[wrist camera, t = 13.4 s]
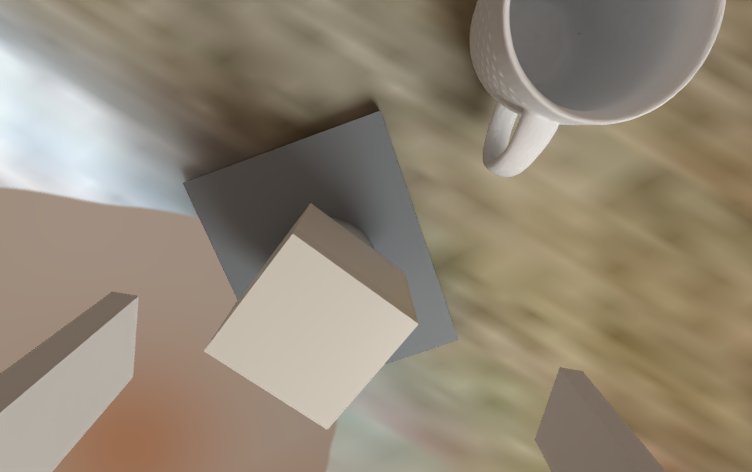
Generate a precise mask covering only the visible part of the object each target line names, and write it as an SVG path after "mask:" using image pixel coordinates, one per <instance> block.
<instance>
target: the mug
mask: <svg viewBox="0 0 752 472" xmlns="http://www.w3.org/2000/svg"><path fill="white" fill-rule="evenodd" d="M725 4H726V0H478V1H477V3H476V7H475V11H474V13H473V16H472V22H471V27H470V37H469V39H470V55H471V60H472V63H473V68H474V70H475V71H476V74H477V76H478V78H479V81H480V82H481V83H482V85H483V87H484V88H485V89H486V91H487V92H488V93H489V94H490V95H491V97H492V98H494V99H495V100H496V101H497V103H496V105H495V109H494V112H493V115H492V118H491V120H490V123H489V127H488V131H487V135H486V138H485V143H484V148H483V163H484V165H485V167H486V168H487V169H488V170H489V171H491V172H492V173H494V174H496V175H499V176H503V177H511V176H515V175H517V174H519V173H521V172H522V171H524V170H525V169H526V168H527V167H528V166H529V165H530V164H531V163H532V162H533V161H534V160H535V159H536V158H537V157H538V155H539V154H540V153H541V152H542V151H543V149H544V148H545V147H546V146H547V144H548V143H549V141H550V140H551V138H552V137H553V135H554V133H555V132H556V130H557V128H558V125H559V124H560V125H563V124H564V125H567V124H568V125H608V124H614V123H620V122H625V121H628V120H632V119H635V118H637V117H640V116H642V115H645V114H647V113H649V112H651V111H653V110H655V109H656V108H658V107H660V106H661V105H663V104H664V103H666V102H667V101H668V100H670V99H671V98H672V97H674V96H675V95H676V94H677V93H678V92H679V91H680V90H681V89H682V88H683V87H684V86H685V85H686V84H687V83H688V82H689V81H690V80H691V79H692V78H693V76H694V75H695V74H696V72H697V71H698V70H699V68H700V67H701V66H702V64H703V63H704V61H705V59H706V58H707V56H708V54H709V53H710V51H711V48H712V46H713V44H714V42H715V39H716V37H717V34H718V32H719V29H720V25H721V22H722V19H723V14H724V10H725ZM517 115H520V116H521V118H520V120H519V123H518V125H517V128H516V130H515V132H514V135H513V137H512V139H511V141H510V143H509V145H508V142H509V138H510V134H511V131H512V128H513V125H514V122H515V120H516V118H517Z"/></svg>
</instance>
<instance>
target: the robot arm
mask: <svg viewBox="0 0 752 472" xmlns="http://www.w3.org/2000/svg"><path fill="white" fill-rule="evenodd" d="M138 299H139V296H135V295H129V294H123V293H117V292H111V293H110V294H108V295H107V296H106V297H104V298H103V299H101V300H100V301H99V302H97V303H96V304H95V305H93V306H92V307H91V308H89V309H88V310H86V311H85V312H84V313H82V314H81V315H80V316H78V317H77V318H76V319H74V320H73V321H72V322H70V323H69V324H67V325H66V326H65V327H63V328H62V329H61V330H60V331H58V332H57V333H55V334H54V335H53V336H51V337H50V338H49V339H47V340H46V341H44V342H43V343H42V344H40V345H39V346H37V348H35V349H33V350H32V351H31V352H29V353H28V354H27V355H25V356H24V357H23V358H21V359H20V360H18V361H17V362H16V363H14V364H13V365H12V366H10V367H9V368H8V369H6V370H5V371H3V372H2V373H0V472H52V471H53V470H54V469H55V468H56V467H57V465H58V464H59V463H60V462H61V461H62V460H63V458H64V457H65V456H66V455H67V454H68V453H69V451H70V450H71V449H72V448H73V447H74V445H75V444H76V443H77V442H78V441H79V440H80V438H81V437H82V436H83V435H84V434H85V433H86V431H87V430H88V429H89V428H90V427H91V426H92V424H93V423H94V422H95V421H96V420H97V419H98V417H99V416H100V415H101V414H102V413H103V412H104V410H105V409H106V408H107V407H108V406H109V404H110V403H111V402H112V401H113V400H114V399H115V397H116V396H117V395H118V394H119V393H120V392H121V390H122V389H123V388H124V387H125V386H126V385H127V383H128V382H129V381H130V380H131V379H132V377H133V369H134V356H135V355H134V354H135V341H136V326H137V313H138ZM535 441H536V442H537V444H538V446H539V448H540V450H541V452H542V454H543V456H544V458H545V460H546V462H547V464H548V466H549V468H550V470H551V471H552V472H666V471H665V470H664V469H663V467H662V466H661V465H660V464H659V463H658V461H657V460H656V459H655V458H654V457H653V455H652V454H651V453H650V452H649V451H648V449H647V448H646V447H645V446H644V445H643V443H642V442H641V441H640V440H639V438H638V437H637V436H636V435H635V434H634V432H633V431H632V430H631V429H630V428H629V426H628V425H627V424H626V423H625V422H624V420H623V419H622V418H621V417H620V416H619V414H618V413H617V412H616V411H615V410H614V408H613V407H612V406H611V405H610V404H609V402H608V401H607V400H606V399H605V398H604V396H603V395H602V394H601V393H600V392H599V390H598V389H597V388H596V387H595V386H594V384H593V383H592V382H591V381H590V380H589V378H588V377H587V376H586V375H585V374H584V372H583V371H578V370H572V369H566V368H561V367H560V368H559V371H558V374H557V377H556V380H555V383H554V386H553V388H552V391H551V394H550V397H549V400H548V403H547V406H546V409H545V412H544V415H543V417H542V420H541V423H540V426H539V429H538V432H537V435H536V438H535Z"/></svg>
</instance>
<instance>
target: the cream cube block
mask: <svg viewBox="0 0 752 472" xmlns="http://www.w3.org/2000/svg"><path fill="white" fill-rule="evenodd" d="M418 324H419V323H418V319H417V316H416V312H415V308H414V304H413V300H412V297H411V293H410V289H409V285H408V281H407V278H406V274H405V272H403V271H402V270H401V269H399V268H398V267H397V266H395V265H394V264H393V263H391V262H390V261H389V260H387V259H386V258H384V257H383V256H382V255H380V254H379V253H378V252H376V251H375V250H374V249H372V248H371V247H370V246H368V245H367V244H366V243H364V242H363V241H362V240H360V239H359V238H357V237H356V236H355V235H353V234H352V233H351V232H349V231H348V230H347V229H345V228H344V227H343V226H341V225H340V224H339V223H337V222H336V221H334V220H333V219H332V218H330V217H329V216H328V215H326V214H325V213H324V212H322V211H321V210H320V209H318V208H317V207H316V206H314V205H313V204H311V203H310V205H309V206H308V207H307V209H306V210H305V211H304V213H303V214H302V215H301V217H300V218H299V219H298V221H297V222H296V223H295V224H294V226H293V227H292V228H291V230H290V231H289V232H288V234H287V235H286V236H285V238H284V239H283V240H282V242H281V243H280V244H279V246H278V247H277V248H276V250H275V251H274V252H273V254H272V255H271V256H270V258H269V259H268V260H267V262H266V263H265V264H264V266H263V267H262V268H261V270H260V271H259V272H258V274H257V275H256V276H255V278H254V279H253V280H252V282H251V283H250V284H249V285H248V287H247V288H246V289H245V291H244V292H243V293H242V295H241V296H240V298H239V299H238V301H237V302H236V304H235V305H234V307H233V308H232V310H231V311H230V313H229V314H228V316H227V317H226V319H225V320H224V322H223V323H222V325H221V326H220V328H219V329H218V331H217V332H216V334H215V335H214V337H213V338H212V340H211V341H210V343H209V344H208V346H207V347H206V349H205V350H204V352H206V353H208V354H209V355H211V356H212V357H214V358H215V359H217V360H219V361H220V362H222V363H223V364H225V365H226V366H228V367H230V368H231V369H233V370H234V371H236V372H237V373H239V374H241V375H242V376H244V377H245V378H247V379H248V380H250V381H252V382H253V383H255V384H256V385H258V386H259V387H261V388H263V389H264V390H266V391H267V392H269V393H270V394H272V395H274V396H275V397H277V398H278V399H280V400H281V401H283V402H285V403H286V404H288V405H290V406H291V407H292V408H294V409H296V410H297V411H299V412H300V413H302V414H303V415H305V416H307V417H308V418H310V419H311V420H313V421H315V422H316V423H318V424H319V425H321V426H322V427H324V428H325V429H327V430H328V428H329V427H330V426H331V425H332V424H333V423H334V422H335V420H336V419H337V418H338V417H339V416H340V415H341V414H342V412H343V411H344V410H345V409H346V408H347V407H348V405H349V404H350V403H351V402H352V401H353V400H354V398H355V397H356V396H357V395H358V394H359V393H360V392H361V390H362V389H363V388H364V387H365V386H366V385H367V383H368V382H369V381H370V380H371V379H372V378H373V376H374V375H375V374H376V373H377V372H378V371H379V370H380V368H381V367H382V366H383V365H384V364H385V363H386V361H387V360H388V359H389V358H390V357H391V356H392V355H393V353H394V352H395V351H396V350H397V349H398V348H399V346H400V345H401V344H402V343H403V342H404V341H405V339H406V338H407V337H408V336H409V335H410V334H411V333H412V331H413V330H414V329H415V328H416V327H417V326H418Z"/></svg>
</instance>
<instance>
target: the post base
mask: <svg viewBox="0 0 752 472" xmlns="http://www.w3.org/2000/svg"><path fill="white" fill-rule="evenodd" d="M183 184H184V186H185V188H186V191H187V193H188V195H189V197H190V199H191V201H192V203H193V205H194V208H195V210H196V212H197V214H198V216H199V218H200V220H201V223H202V225H203V226H204V229H205V231H206V233H207V235H208V237H209V240H210V242H211V244H212V246H213V248H214V250H215V252H216V255H217V257H218V259H219V261H220V263H221V265H222V267H223V270H224V272H225V273H226V276H227V278H228V280H229V282H230V284H231V287H232V289H233V290H234V293H235V295H236V297H237V299H239V298H240V296H241V295H242V293H243V292H244V291H245V289H246V288H247V287H248V285H249V284H250V283H251V282H252V280H253V279H254V278H255V276H256V275H257V274H258V272H259V271H260V270H261V268H262V267H263V266H264V264H265V263H266V262H267V260H268V259H269V258H270V256H271V255H272V254H273V252H274V251H275V250H276V248H277V247H278V246H279V244H280V243H281V242H282V240H283V239H284V238H285V236H286V235H287V234H288V232H289V231H290V230H291V228H292V227H293V226H294V224H295V223H296V222H297V221H298V219H299V218H300V217H301V215H302V214H303V213H304V211H305V210H306V209H307V207H308V206H309V205H310V203H311V204H313V205H314V206H316V207H317V208H318V209H320V210H321V211H322V212H324V213H325V214H326V215H328V216H329V217H330V218H332V219H333V220H334V221H336V222H337V223H339V224H340V225H341V226H343V227H344V228H345V229H347V230H348V231H349V232H351V233H352V234H353V235H355V236H356V237H357V238H359V239H360V240H362V241H363V242H364V243H366V244H367V245H368V246H370V247H371V248H372V249H374V250H375V251H376V252H378V253H379V254H380V255H382V256H383V257H384V258H386V259H387V260H389V261H390V262H391V263H393V264H394V265H395V266H397V267H398V268H399V269H401V270H402V271H403V272H405V274H406V278H407V281H408V285H409V289H410V293H411V297H412V300H413V304H414V308H415V312H416V316H417V319H418V323H419V324H418V326H417V327H416V328H415V329H414V330H413V331H412V333H411V334H410V335H409V336H408V337H407V338H406V339H405V341H404V342H403V343H402V344H401V345H400V346H399V348H398V349H397V350H396V351H395V352H394V353H393V355H392V356H391V357H390V358H389V359H388V360H387V361H386V363H385V364H387V363H390V362H393V361H396V360H399V359H402V358H405V357H408V356H411V355H414V354H417V353H421V352H424V351H427V350H430V349H433V348H436V347H439V346H442V345H445V344H448V343H451V342H454V341H457V340H458V338H457V335H456V332H455V329H454V326H453V323H452V320H451V317H450V314H449V311H448V308H447V305H446V302H445V299H444V297H443V294H442V291H441V288H440V285H439V282H438V279H437V276H436V273H435V270H434V267H433V264H432V261H431V258H430V255H429V252H428V249H427V246H426V243H425V240H424V238H423V235H422V232H421V229H420V226H419V223H418V220H417V217H416V214H415V211H414V208H413V205H412V202H411V199H410V196H409V193H408V190H407V187H406V184H405V182H404V179H403V176H402V173H401V170H400V167H399V164H398V161H397V158H396V155H395V152H394V149H393V146H392V143H391V140H390V137H389V134H388V131H387V128H386V126H385V123H384V120H383V117H382V114H381V111H378V112H375V113H372V114H369V115H367V116H364V117H361V118H358V119H356V120H353V121H350V122H348V123H345V124H342V125H339V126H337V127H334V128H331V129H328V130H326V131H323V132H320V133H318V134H315V135H312V136H309V137H307V138H304V139H301V140H298V141H296V142H293V143H290V144H288V145H285V146H282V147H279V148H277V149H274V150H271V151H268V152H266V153H263V154H260V155H258V156H255V157H252V158H249V159H247V160H244V161H241V162H239V163H236V164H233V165H230V166H228V167H225V168H222V169H219V170H217V171H214V172H211V173H209V174H206V175H203V176H200V177H198V178H195V179H192V180H189V181H187V182H184V183H183Z"/></svg>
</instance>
